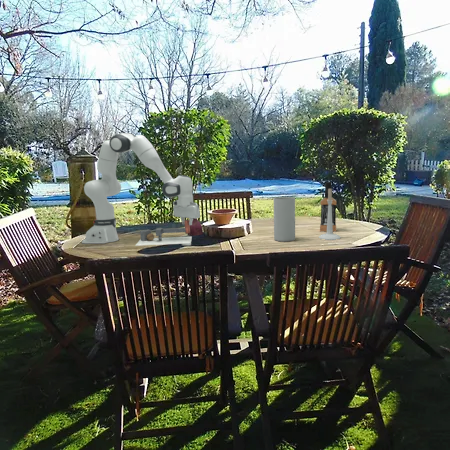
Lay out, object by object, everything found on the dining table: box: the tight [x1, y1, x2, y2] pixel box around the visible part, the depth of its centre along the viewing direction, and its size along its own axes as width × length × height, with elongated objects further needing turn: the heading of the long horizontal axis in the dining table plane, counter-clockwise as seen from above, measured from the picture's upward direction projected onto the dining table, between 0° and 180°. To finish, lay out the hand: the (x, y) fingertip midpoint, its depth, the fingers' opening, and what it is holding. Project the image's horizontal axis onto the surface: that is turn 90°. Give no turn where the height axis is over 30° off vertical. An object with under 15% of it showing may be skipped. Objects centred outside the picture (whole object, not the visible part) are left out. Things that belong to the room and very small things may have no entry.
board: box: [135, 229, 193, 247], centre depth 238 cm, size 32×21×7 cm, turn 93°
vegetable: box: [187, 218, 204, 236], centre depth 262 cm, size 10×10×15 cm
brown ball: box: [147, 232, 155, 241], centre depth 240 cm, size 4×4×4 cm
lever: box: [155, 219, 190, 237], centre depth 238 cm, size 20×7×8 cm, turn 91°
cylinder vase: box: [273, 196, 296, 243], centre depth 234 cm, size 12×12×25 cm
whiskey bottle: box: [319, 181, 337, 232], centre depth 258 cm, size 10×10×32 cm
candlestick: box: [318, 188, 342, 241], centre depth 234 cm, size 13×13×30 cm
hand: (187, 224), depth 240 cm, fingers open, 4 cm apart
